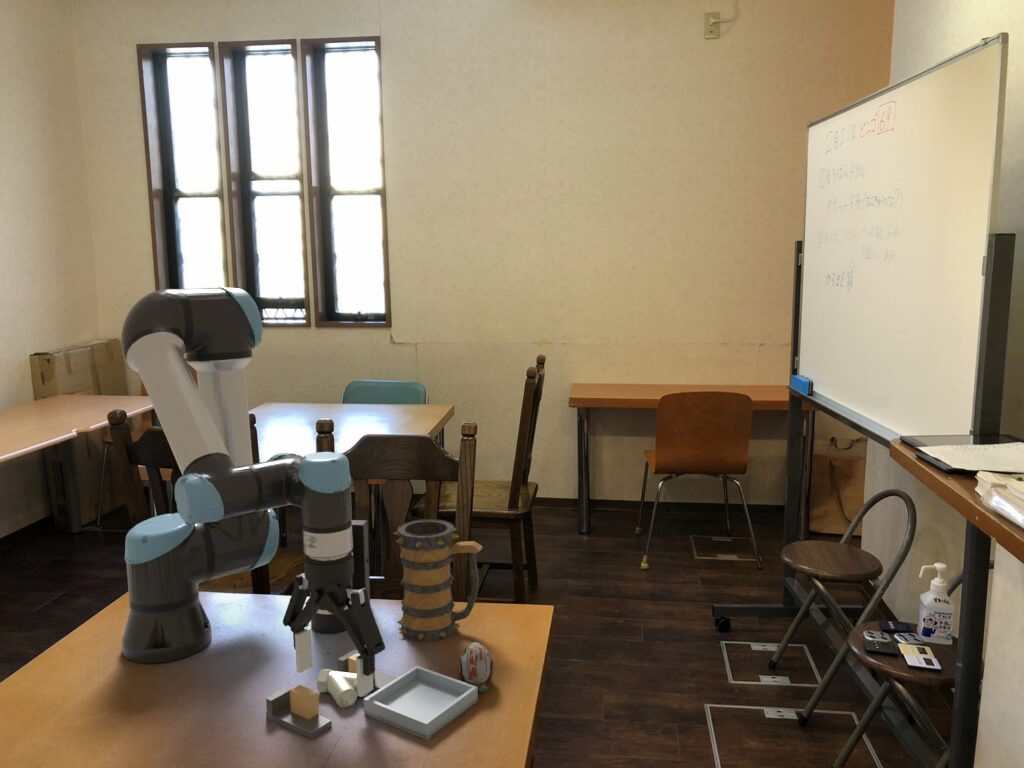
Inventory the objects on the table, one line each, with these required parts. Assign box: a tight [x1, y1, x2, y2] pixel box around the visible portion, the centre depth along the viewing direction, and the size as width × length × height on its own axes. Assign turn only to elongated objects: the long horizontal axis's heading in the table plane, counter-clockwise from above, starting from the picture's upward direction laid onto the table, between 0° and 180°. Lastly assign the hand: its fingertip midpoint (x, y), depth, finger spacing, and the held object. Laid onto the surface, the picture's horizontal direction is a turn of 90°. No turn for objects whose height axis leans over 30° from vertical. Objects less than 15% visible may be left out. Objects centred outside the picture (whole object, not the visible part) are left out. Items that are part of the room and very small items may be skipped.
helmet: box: [457, 641, 495, 693], centre depth 136 cm, size 6×8×7 cm
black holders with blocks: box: [265, 649, 397, 740], centre depth 131 cm, size 10×19×4 cm, turn 146°
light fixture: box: [309, 519, 371, 635], centre depth 160 cm, size 10×14×18 cm
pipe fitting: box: [316, 668, 370, 709], centre depth 132 cm, size 8×4×7 cm
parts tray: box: [363, 665, 479, 741], centre depth 129 cm, size 13×13×2 cm
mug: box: [393, 518, 483, 642], centre depth 155 cm, size 13×17×20 cm
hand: (334, 680), depth 131 cm, fingers open, 13 cm apart
